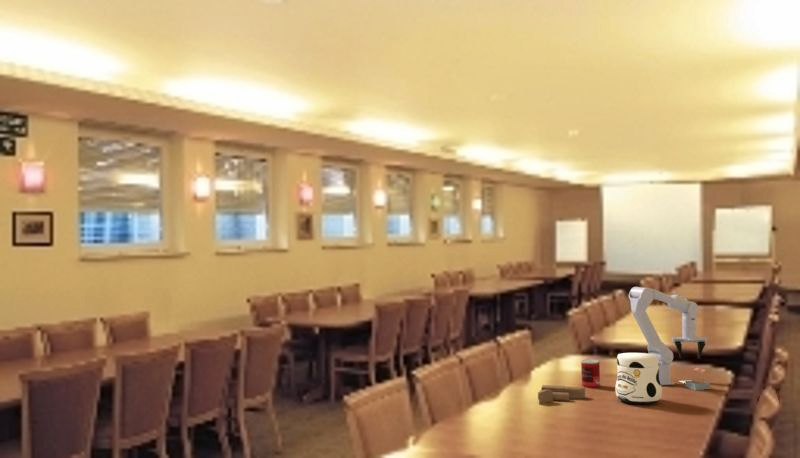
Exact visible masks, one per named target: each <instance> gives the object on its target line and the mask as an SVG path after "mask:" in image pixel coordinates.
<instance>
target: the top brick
mask: <svg viewBox="0 0 800 458" xmlns="http://www.w3.org/2000/svg"><path fill="white" fill-rule="evenodd" d="M706 373H707V372H706V369H703V368H700V367H695V368H693V369H692V371H691V380H692V381H694V382H697V383H703V382H704V381H705V382H706Z"/></svg>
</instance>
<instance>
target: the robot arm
mask: <svg viewBox="0 0 800 458" xmlns="http://www.w3.org/2000/svg"><path fill="white" fill-rule="evenodd" d="M628 299H629V300H630V309H631V310H630V311H631V313H632V315H633V317H634V319H635V321H636V323H637V325H638V327H639V329H640V331H641V333H642V335H643V337H644V338H645V341H646V342H647V344H648V346H647V352H648V354H653V355H657V356H658V361H659V381H660V384H661V386H669V385H675V383H674V382H671V362H673V360H674V353H673V351H672V350H671V349H670V348H669V347H668V345H667V344H665V343H664V342H663V341H662V340H661V338H660V335H659V334H658V333H657V330H656V328H655V326H654V324H653V323H652V320H651V318H650V317H649V315H648V313H647V309H648V307H649V306H650V305H651V303H652V302H653V301H654V300H657V301H660V302H664V303H666V304H667V306H668V307H669V308H671V309H674V310H677V311H678V312H680V313H681V321H682V323H681V325H682V326H681V327H682V328H681V331H682V333H681V334H682V336H679V337H678V336H677V337H674V336H672V337H671V342H672V343H674V345H675V347H676V350H677V352H678V356H679V359H680V360H681V359H683V354H682V350H683V349H682V346H683V344H682V343H697V359H698V360H701V357H702V353H703V350H704V349H705V347H706V343H707V344H708V338H707V337H697V316H698V315H697V314H698V313H699V309H700V308H699V307H698V304H697V303H696V302H695V301H689V300H688V298H683V297H680V295H678V294H672V295H668V294H666V293H663V292H662V291H659V290H657V289H655V288H650V287H640V286H634V287H632V288H631V289H630V291H629V293H628Z"/></svg>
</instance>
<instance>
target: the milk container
mask: <svg viewBox="0 0 800 458" xmlns="http://www.w3.org/2000/svg"><path fill="white" fill-rule="evenodd" d="M616 364H617V366H616V369H617V373H616V374H617V378H616V382H615V387H614V388H615V395H616V397H617V398H618V400H620V401H622V402H625V403H629V404H636V405H638V404H639V405H644V404H645V405H647V404H648V405H649V404H654V403H658V402H659V401H660V400H661V399H662V392H663V389H662V385H661V384H660V381H659V361H658V356H657V355H653V354H649V353H647V352H623V353H618V354H617V357H616Z"/></svg>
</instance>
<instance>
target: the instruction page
mask: <svg viewBox="0 0 800 458" xmlns="http://www.w3.org/2000/svg"><path fill="white" fill-rule="evenodd" d="M685 381H692V379H691V380H678V382H680V383H682V384H684V383H685V385H686V382H685Z"/></svg>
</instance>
